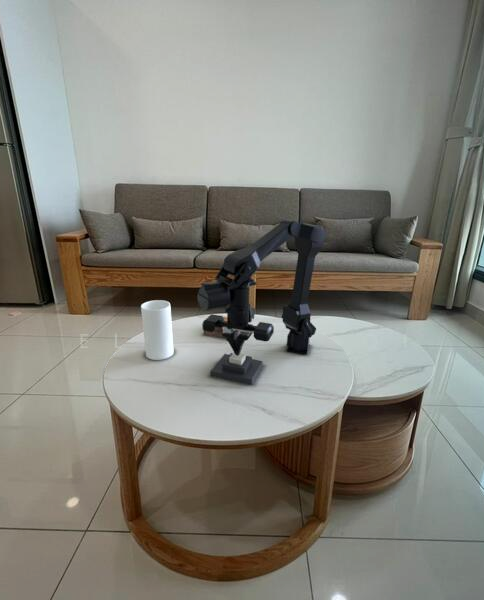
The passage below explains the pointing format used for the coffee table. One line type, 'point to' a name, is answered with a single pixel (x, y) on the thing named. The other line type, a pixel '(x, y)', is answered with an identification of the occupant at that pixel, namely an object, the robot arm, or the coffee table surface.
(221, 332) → the stepped brown pyramid
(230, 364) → the dark grey stepped stand
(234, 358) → the key front
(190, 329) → the coffee table surface
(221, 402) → the coffee table surface
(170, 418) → the coffee table surface
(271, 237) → the robot arm
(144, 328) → the cup
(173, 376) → the coffee table surface
